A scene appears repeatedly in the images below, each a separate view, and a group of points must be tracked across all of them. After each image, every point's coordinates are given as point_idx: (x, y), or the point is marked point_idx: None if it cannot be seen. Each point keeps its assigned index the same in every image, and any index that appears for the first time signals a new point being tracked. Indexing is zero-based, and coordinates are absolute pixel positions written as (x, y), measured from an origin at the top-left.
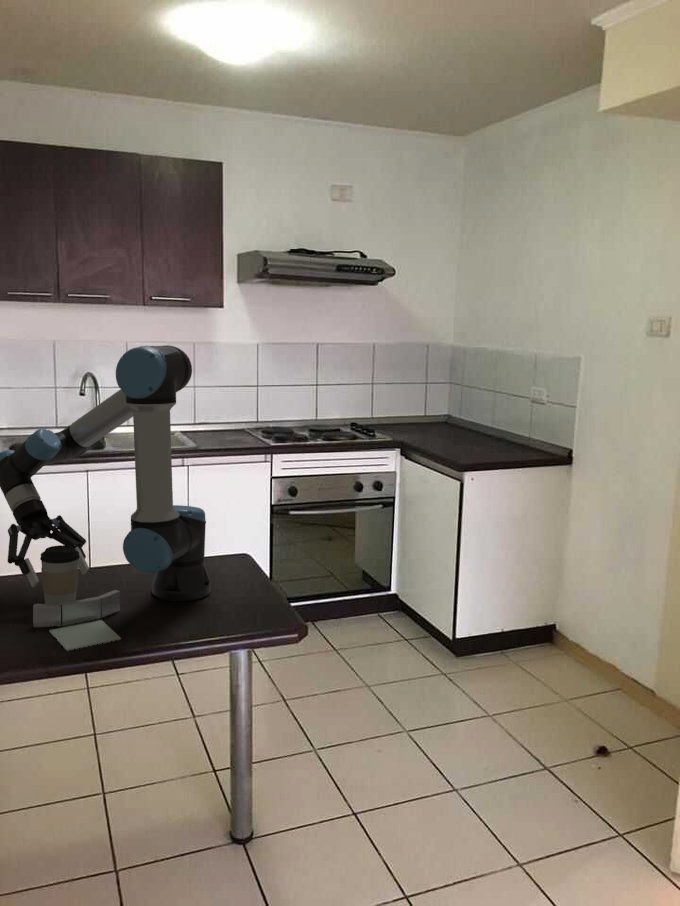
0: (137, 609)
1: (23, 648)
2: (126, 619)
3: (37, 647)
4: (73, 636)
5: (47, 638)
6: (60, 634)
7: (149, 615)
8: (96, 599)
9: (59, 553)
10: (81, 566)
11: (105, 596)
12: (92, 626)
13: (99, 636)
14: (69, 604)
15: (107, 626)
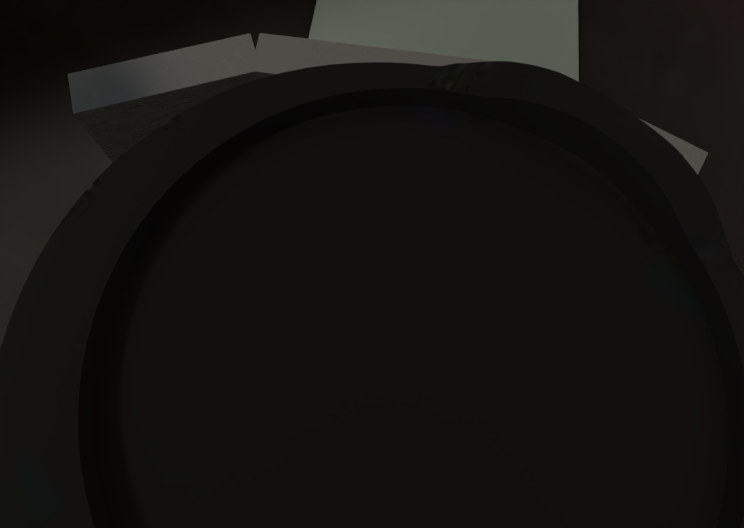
0: (45, 120)
1: (730, 38)
2: (183, 47)
3: (671, 16)
4: (504, 1)
5: (605, 68)
6: (547, 49)
7: (63, 26)
8: (289, 37)
9: (542, 87)
10: None
11: (211, 46)
12: (378, 43)
13: None
14: (477, 59)
15: (319, 7)
